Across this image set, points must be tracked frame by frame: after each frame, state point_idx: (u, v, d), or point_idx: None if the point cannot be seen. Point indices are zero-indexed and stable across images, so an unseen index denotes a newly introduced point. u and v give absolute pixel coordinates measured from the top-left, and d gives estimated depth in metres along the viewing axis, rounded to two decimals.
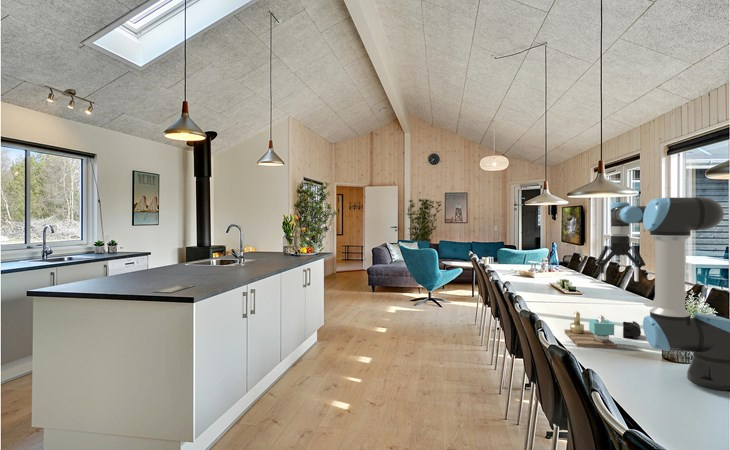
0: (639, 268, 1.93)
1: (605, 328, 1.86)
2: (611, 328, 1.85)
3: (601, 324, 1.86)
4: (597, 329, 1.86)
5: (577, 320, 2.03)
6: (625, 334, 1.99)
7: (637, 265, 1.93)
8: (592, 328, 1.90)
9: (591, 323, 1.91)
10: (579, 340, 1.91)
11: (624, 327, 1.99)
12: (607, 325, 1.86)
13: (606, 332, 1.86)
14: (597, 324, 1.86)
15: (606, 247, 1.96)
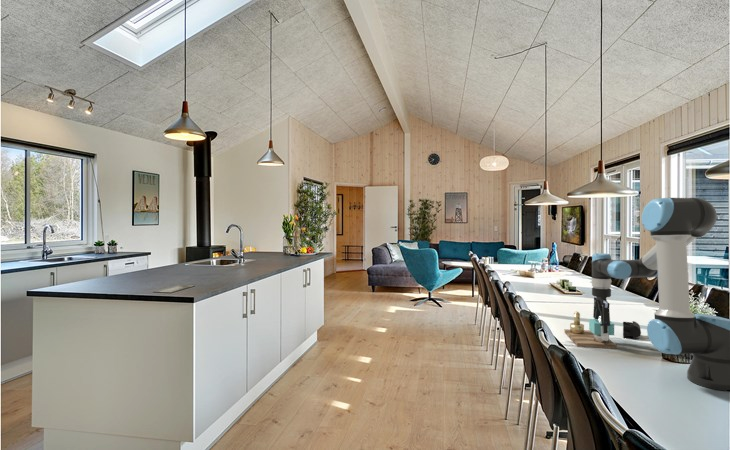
0: (603, 327, 1.85)
1: None
2: (611, 328, 1.85)
3: None
4: (597, 329, 1.86)
5: (577, 320, 2.03)
6: (625, 334, 1.99)
7: None
8: (592, 328, 1.90)
9: (591, 323, 1.91)
10: (579, 340, 1.91)
11: (624, 327, 1.99)
12: None
13: None
14: (597, 324, 1.86)
15: (594, 299, 1.96)
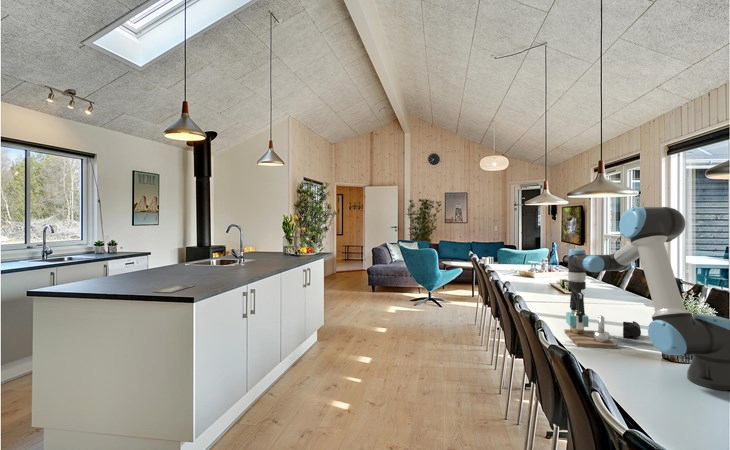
0: (578, 317, 1.98)
1: None
2: (585, 320, 1.99)
3: (576, 317, 2.00)
4: (573, 321, 2.01)
5: None
6: (625, 334, 1.99)
7: (577, 313, 1.99)
8: (568, 320, 2.04)
9: (567, 316, 2.05)
10: (579, 340, 1.91)
11: (624, 327, 1.99)
12: None
13: None
14: (573, 317, 2.01)
15: (571, 291, 2.10)
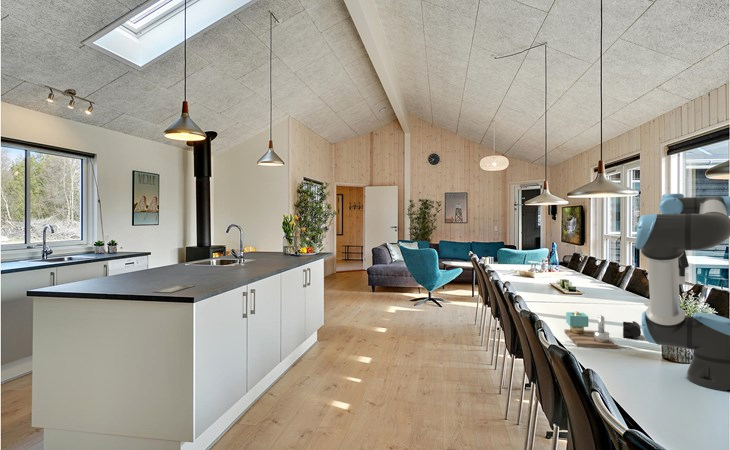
0: (680, 269, 1.67)
1: (580, 320, 2.00)
2: (585, 320, 1.99)
3: (576, 317, 2.00)
4: (573, 321, 2.01)
5: None
6: (625, 334, 1.99)
7: (677, 265, 1.68)
8: (568, 320, 2.04)
9: (567, 316, 2.05)
10: (579, 340, 1.91)
11: (624, 327, 1.99)
12: (582, 317, 2.00)
13: (581, 324, 2.00)
14: (573, 317, 2.01)
15: None
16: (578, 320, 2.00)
